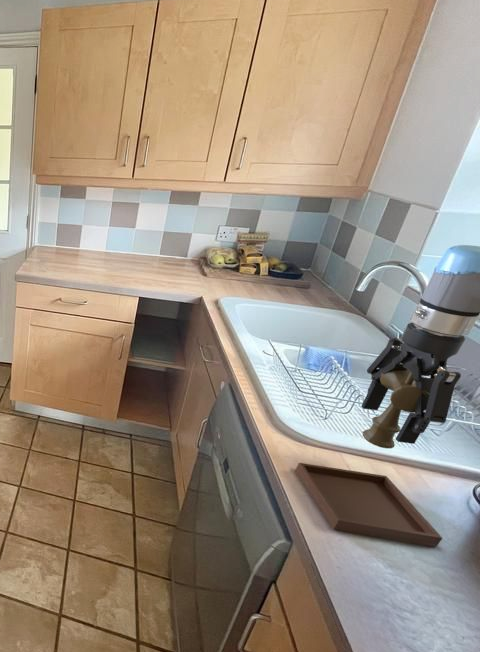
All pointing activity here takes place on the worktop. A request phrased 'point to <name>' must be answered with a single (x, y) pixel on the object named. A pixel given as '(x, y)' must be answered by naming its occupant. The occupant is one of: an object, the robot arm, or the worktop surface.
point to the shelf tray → (366, 505)
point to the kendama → (394, 407)
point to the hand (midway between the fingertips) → (385, 424)
